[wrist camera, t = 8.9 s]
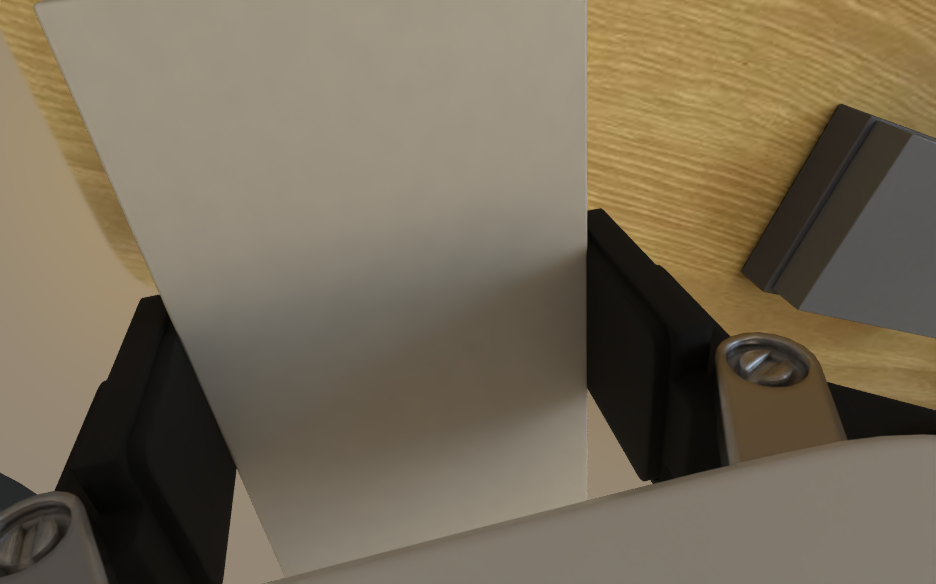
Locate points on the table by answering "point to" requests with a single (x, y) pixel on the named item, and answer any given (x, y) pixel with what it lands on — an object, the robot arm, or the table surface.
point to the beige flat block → (359, 245)
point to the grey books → (858, 228)
